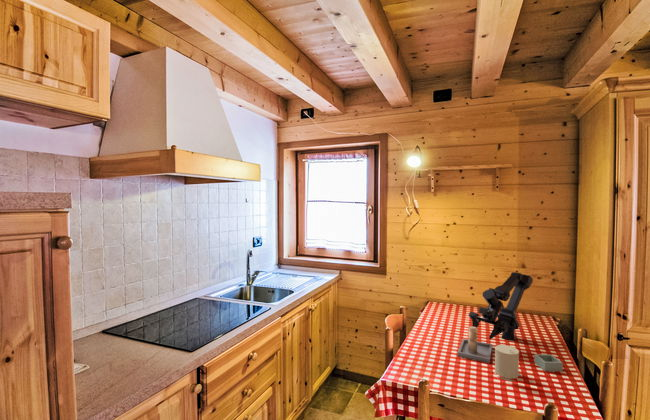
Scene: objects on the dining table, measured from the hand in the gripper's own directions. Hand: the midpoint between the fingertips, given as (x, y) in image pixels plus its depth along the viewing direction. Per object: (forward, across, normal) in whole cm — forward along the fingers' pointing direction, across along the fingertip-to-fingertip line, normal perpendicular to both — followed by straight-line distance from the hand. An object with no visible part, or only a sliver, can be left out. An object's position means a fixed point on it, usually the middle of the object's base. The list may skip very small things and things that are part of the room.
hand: (480, 335), depth 167 cm
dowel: (+10, 0, 0) cm, 10 cm away
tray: (+8, 0, +2) cm, 9 cm away
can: (+15, +20, -4) cm, 25 cm away
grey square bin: (0, +28, +10) cm, 29 cm away
